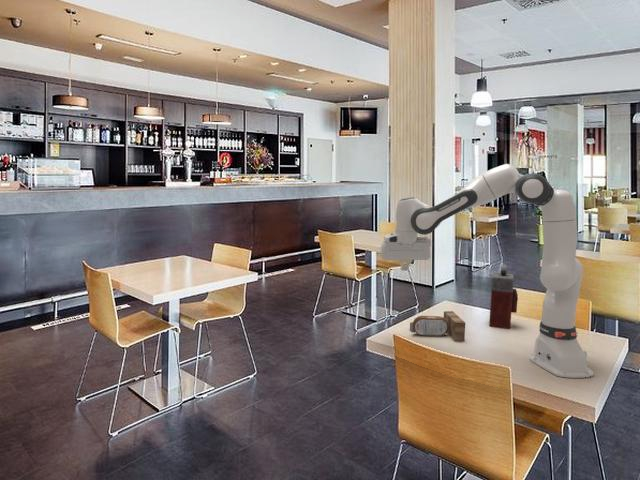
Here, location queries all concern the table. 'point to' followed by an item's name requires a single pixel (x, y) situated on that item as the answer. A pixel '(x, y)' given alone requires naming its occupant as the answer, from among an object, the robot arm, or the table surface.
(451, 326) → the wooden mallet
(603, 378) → the table surface
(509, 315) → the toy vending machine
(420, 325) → the tin
